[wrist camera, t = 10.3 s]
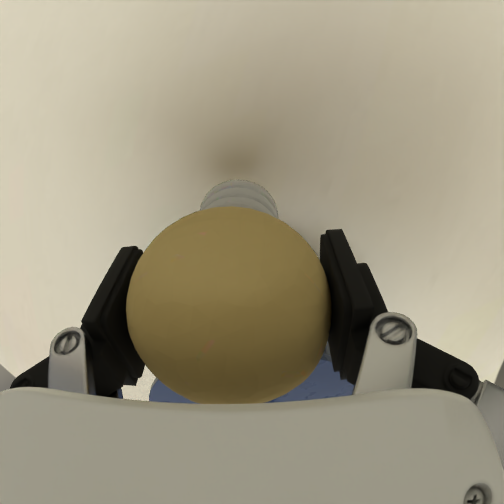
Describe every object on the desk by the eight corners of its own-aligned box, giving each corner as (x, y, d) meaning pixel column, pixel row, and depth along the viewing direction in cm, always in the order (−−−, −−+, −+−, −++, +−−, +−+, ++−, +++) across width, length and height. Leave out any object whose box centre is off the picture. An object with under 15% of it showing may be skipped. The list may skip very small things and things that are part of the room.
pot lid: (392, 323, 15) (416, 392, 12) (351, 432, 24) (357, 474, 20) (116, 339, 16) (93, 403, 13) (185, 440, 25) (180, 481, 22)
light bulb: (212, 275, 18) (185, 443, 10) (153, 181, 15) (52, 337, 6) (319, 239, 16) (364, 413, 8) (275, 127, 13) (309, 257, 5)
